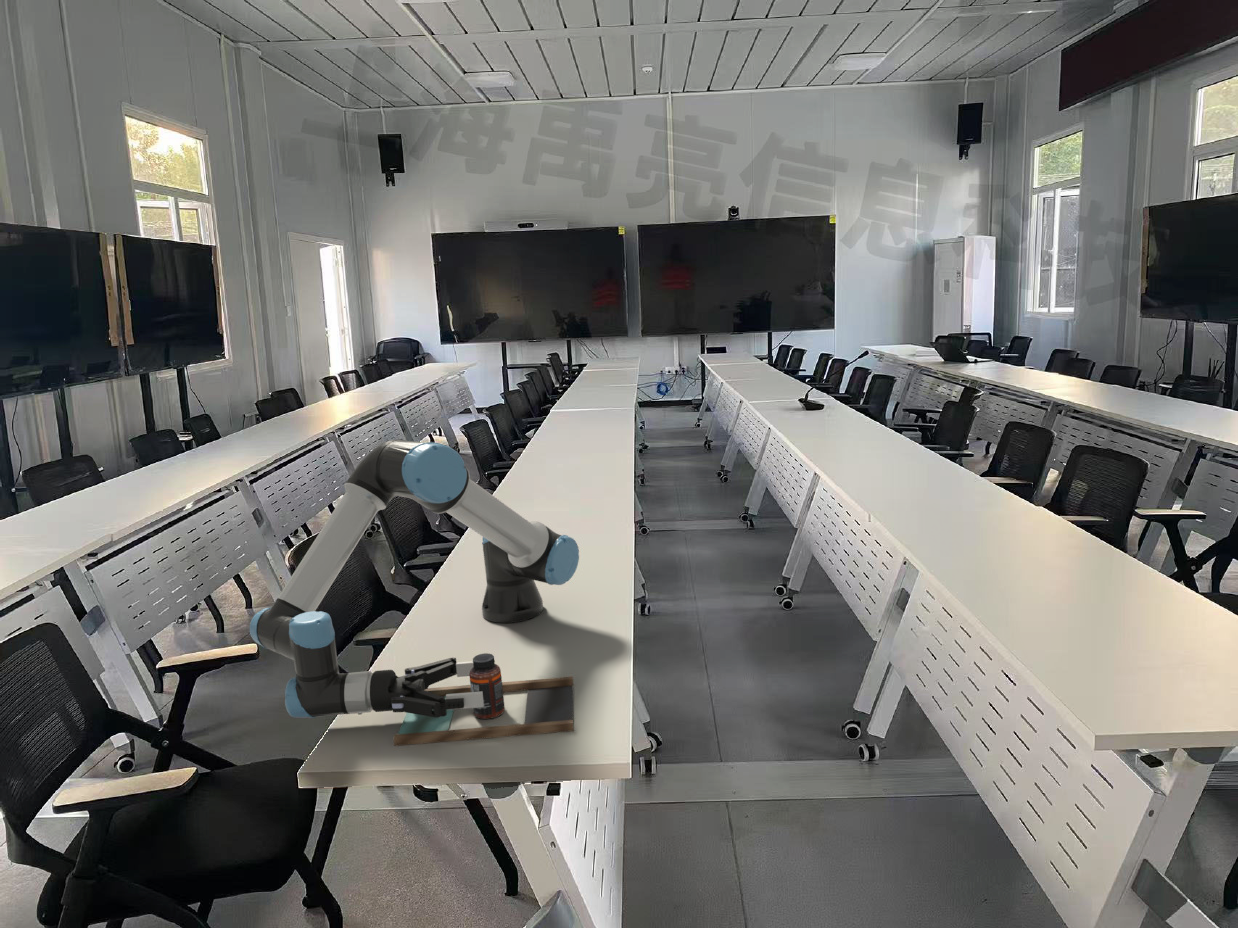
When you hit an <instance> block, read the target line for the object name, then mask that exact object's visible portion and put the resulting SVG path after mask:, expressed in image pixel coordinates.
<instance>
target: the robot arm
mask: <svg viewBox="0 0 1238 928" xmlns="http://www.w3.org/2000/svg"><path fill="white" fill-rule="evenodd" d="M343 486H344V491H345V492H344V493H343V496H342V497H341V498H340V500H339V501H338V504H337V505H336V507H335V508H334V510H333V511H332V513H331V514H330V516H329V517H328V519H327V520H326V522H325V524H324V525H323V526H322V528H321V530H320V532H319V533H318V534H317V536H316V538H315V539H314V541H313V542H312V544H311V545H310V547H309V548H308V549H307V552H306V553H305V555H304V556H303V557H302V560H301V561H300V563H299V564H298V566H297V567H296V568H295V570H294V572H292V573H293V574H291V577H290V578H288V581H287V583H286V584H285V586H284V587H283V589H282V590H281V591H280V594H279V595H278V596H277V598H276V599H275V601H274V603H273V604H272V606H271V607H266V608H262V609H261V610H259V611H258V612H257V613H255V614H254V616H253V617H252V618H251V621H250V623H249V634H250V637H251V638H252V640H253V641H254V642H255V643H256V644H258V645H260V646H261V647H262V648H263V649H266V650H267V651H271V652H274V653H276V654H279V655H281V656H283V657H286V658H288V659H290V660H292V661H293V663H294V664H293V665H294V670H295V677H291V678H289V680H288V681H287V683H286V687H285V691H284V696H285V699H284V704H285V708H286V711H287V713H288V714H289V715H290V717H292V718H311V719H314V718H315V719H316V718H319V717H320V718H321V717H329V716H331V717H332V716H337V715H338V716H339V715H351V714H354V715H355V714H357V715H362V714H364V713H371V712H372V711H374V712H375V713H382V712H391V711H392V712H393V713H405V714H406V713H412V714H418V715H424V716H430V717H435V718H438V717H440V716H446V715H447V712H446V710H453V709H454V710H462V709H473V708H478V707H483V706H484V702H483V692H482V691H480V692H468V693H455V694H446V699H445V697H442V696H439V695H436V694H433V693H431V692H428V691H425V689H427V688H430V686H431V685H433V684H436V683H439V682H441V681H443V680H446V679H449V678H452V677H454V676H456V677H457V678H461V677H470V676H469V673H470V670H471V669H472V668H473V667H474V666H473V660H471V661H460V662H459V661H457V657H449V658H445V659H441V660H438V661H437V660H436V661H434V662H430V663H426V664H422V665H419V666H414V667H413V666H412V667H407V668H405V669H404V675H401V676H397V674H396V672H395V671H394V670H393V669H383V670H375V671H374V672H372V671H370V670H365V671H355V672H354V671H353V672H345V673H344V672H342V673H341V672H340V669H339V663H338V655H337V647H336V637H335V636H336V634H335V633H336V632H335V629H334V626H333V621H332V618H331V616H330V614H329V613H328V612H324V611H316V610H317V609H318V607H319V605H320V604H321V602H322V601H323V599H324V597H326V595H327V592H328V591H329V589H331V586H332V585H333V583H334V581H335V580H336V578H337V577H338V575H339V573H340V572H341V571H342V569H343V567H344V566H345V564H346V562H347V561H348V559H349V558H350V556H351V554H352V553H353V551H354V549H355V548H356V546H357V545H358V543H359V541H360V540H361V538H362V537H363V535H364V533H365V531H367V529H368V527H369V526H370V524H371V523H372V521H373V519H374V518H375V516H376V514H377V513H378V512H379V511H381V510H386V508H387V507H388V504H389V503H390V502H391V500H392V499H393V498H395V497H396V496H397V497H403V498H408V499H411V500H413V501H414V502H416V503H418V504H420V505H421V506H422V507H424V508H426V509H427V510H428V511H431V512H432V513H433V514H445V513H447V514H448V515H449V516H452V518H454V519H456V520H457V521H458V522H460V523H461V524H463V525H464V526H466V527H467V528H469V529H471V530H472V531H474V532H475V533H477V534H478V535H479V536H480V537H482V544H481V545H482V551H483V558H484V559H483V562H484V569H485V570H484V571H485V579H486V587H485V591H484V595H483V600H482V605H481V610H482V611H481V614H482V617H483V618H484V619H485V620H487V621H489V622H493V623H500V624H501V623H503V624H505V623H506V624H507V623H508V624H509V623H519V622H522V621H527V620H530V618H531V619H533V618H535V617H538V616H539V615H540V614H542V612H543V611H542V610H544V601H543V598H542V595H541V593H540V591H539V589H538V587H537V585H536V582H535V581H537V582H540V583H545V584H548V585H550V586H553V585H554V586H562V585H564V584H566V583H567V582H569V581H570V580H571V578H573V576H574V575H575V573H576V570H577V568H578V566H579V562H580V561H579V560H580V550H579V549H580V548H579V546H578V543H577V542H576V540H575V539H574V538H573V537H571V536H569V535H567V534H559V533H556V532H555V531H553V530H552V529H551V528H550V527H548V526H547V525H545V524H544V523H542V522H541V521H536V520H535V521H528V520H527V519H526V518H525V517H523V516H522V515H520V514H519V513H517V512H516V511H515V510H513V509H512V508H511V507H509V506H508V505H506V504H505V503H504V502H502V501H501V500H499V499H498V498H497V497H495V496H494V495H493V494H491V493H490V492H489V491H487V490H486V489H485V488H483V487H482V486H480V485H479V484H478V483H476V481H474V480H472V479H471V477H470V471H469V469H468V467H466V466H465V461H464V459H463V458H462V456H461V454H459V452H458V451H457V450H455V449H454V448H452V447H450V446H449V445H445V444H442V443H441V442H435V441H429V442H426V441H425V442H422V441H413V440H405V439H397V438H396V439H390V440H386V441H384V442H382V443H380V444H379V445H377V446H375V447H374V448H373V449H372V450H370V452H369V453H367V455H366V456H364V458H363V459H362V460H361V461H360V462H359V463H358V465H357V466H356V467H355V469H354V470H353V472H352V473H351V474H350V476H349V477H348V478H347V480H346V482H345V483H344V485H343ZM539 613H540V614H539ZM534 616H535V617H534ZM432 709H433V710H434V711H432Z"/></svg>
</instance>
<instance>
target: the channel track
mask: <svg viewBox="0 0 1238 928" xmlns="http://www.w3.org/2000/svg"><path fill="white" fill-rule="evenodd" d="M502 687H503V693H504V692H505V693H506V692H516V691H517V692H518V691H520V692H521V691H527V696H526V705H525V713H524V723H521V724H520V723H517V724H507V725H497V726H496V725H495V726H482V727H472V728H459V729H450V726H451V722H452V718H453V715H454V710H455V709H453V710H446V712H447V715H446V716H440V717H438V718H435V717H430V716H424V715H418V714H412V713H406V712H405V716H404V718H403V720H402V721H403V722H402V723H401V726H400V728H399V731H398V733H397V734H394V735H393V744H394V746H397V747H398V746H409V745H419V744H420V745H421V744H430V743H431V744H432V743H433V744H434V743H442V742H443V743H445V742H453V741H467V740H479V739H480V740H481V739H489V738H492V737H493V738H501V737H502V738H503V737H515V736H516V737H517V736H527V735H539V734H549V733H550V734H552V733H561V732H573V731H574V677H573V676H564V677H563V676H562V677H552V678H550V677H549V678H539V679H538V678H537V679H528V680H527V679H526V680H515V681H513V680H512V681H502ZM425 691H428V692H431V693H433V694H436V695H439V696H442V697H445V699H446V694H455V693H468V692H471V685H470V684H467V685H466V684H465V685H464V684H463V685H453V686H442V687H441V686H440V687H428V688H427V689H425ZM432 711H434V710H433V709H432Z"/></svg>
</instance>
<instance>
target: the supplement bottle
mask: <svg viewBox="0 0 1238 928" xmlns="http://www.w3.org/2000/svg"><path fill="white" fill-rule="evenodd" d="M472 661H473V666H474V667H473V668H472V669H471V670H470V673H469V676H468V677H469V685H471V692H480V691H482V692H483V702H484V706H483V707H478V708H472V710H473V715H474V717H475V718H478V719H480V720H482V719H483V720H490V719H495V718H497V717H499V716H500V715H502V714H503V713H504V711H505V710H506V709H505V698H504V692H503V687H502V682H503V680H502V671H501V670H502V669H501V667H500V666H499V665H498V664H496V661H495V656H494V654H492V653H487V652H486V653H485V652H484V653H480V654H476V655H475V656H474V657H473V658H472Z"/></svg>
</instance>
